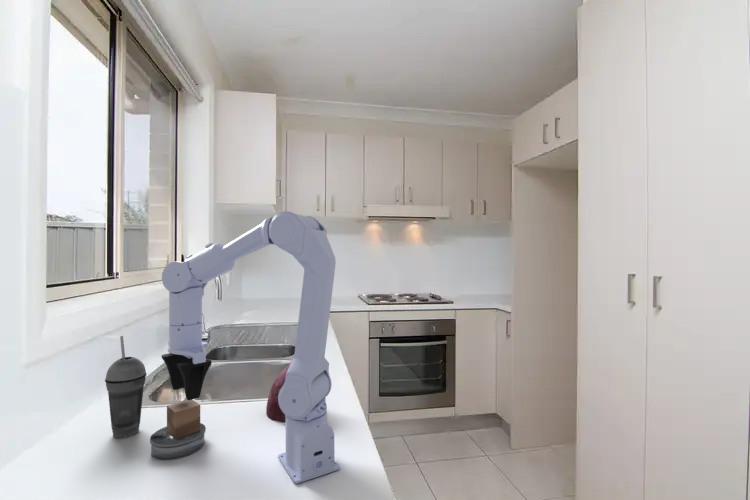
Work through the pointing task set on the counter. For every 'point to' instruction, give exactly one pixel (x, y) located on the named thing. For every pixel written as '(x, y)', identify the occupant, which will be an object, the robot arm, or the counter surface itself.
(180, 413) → the walnut block
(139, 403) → the beverage cup
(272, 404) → the vegetable
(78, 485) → the counter surface
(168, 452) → the grey tin
